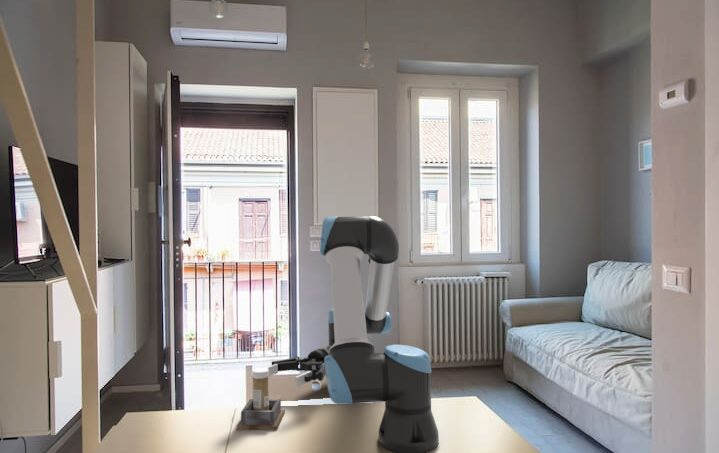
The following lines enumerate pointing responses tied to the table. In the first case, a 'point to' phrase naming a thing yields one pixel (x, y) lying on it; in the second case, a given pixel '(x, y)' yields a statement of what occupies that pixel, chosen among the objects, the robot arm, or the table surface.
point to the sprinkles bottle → (260, 389)
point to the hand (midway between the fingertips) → (278, 378)
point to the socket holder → (261, 416)
